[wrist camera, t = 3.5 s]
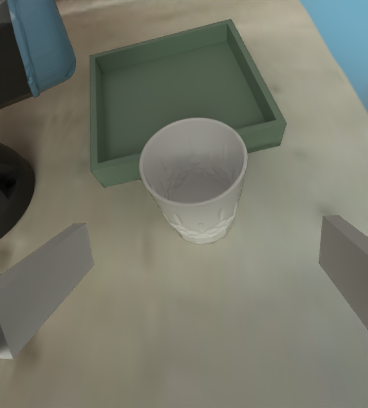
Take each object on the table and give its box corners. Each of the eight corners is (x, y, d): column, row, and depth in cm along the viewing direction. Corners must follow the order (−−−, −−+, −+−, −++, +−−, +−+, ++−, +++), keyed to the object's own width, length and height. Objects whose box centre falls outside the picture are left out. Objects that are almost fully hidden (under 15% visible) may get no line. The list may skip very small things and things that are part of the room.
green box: (104, 187, 30) (90, 170, 27) (99, 76, 41) (89, 55, 38) (280, 145, 30) (286, 123, 27) (230, 43, 40) (231, 18, 37)
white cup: (255, 213, 26) (271, 153, 17) (201, 266, 24) (188, 229, 16) (203, 171, 29) (194, 102, 21) (151, 215, 28) (118, 160, 19)
